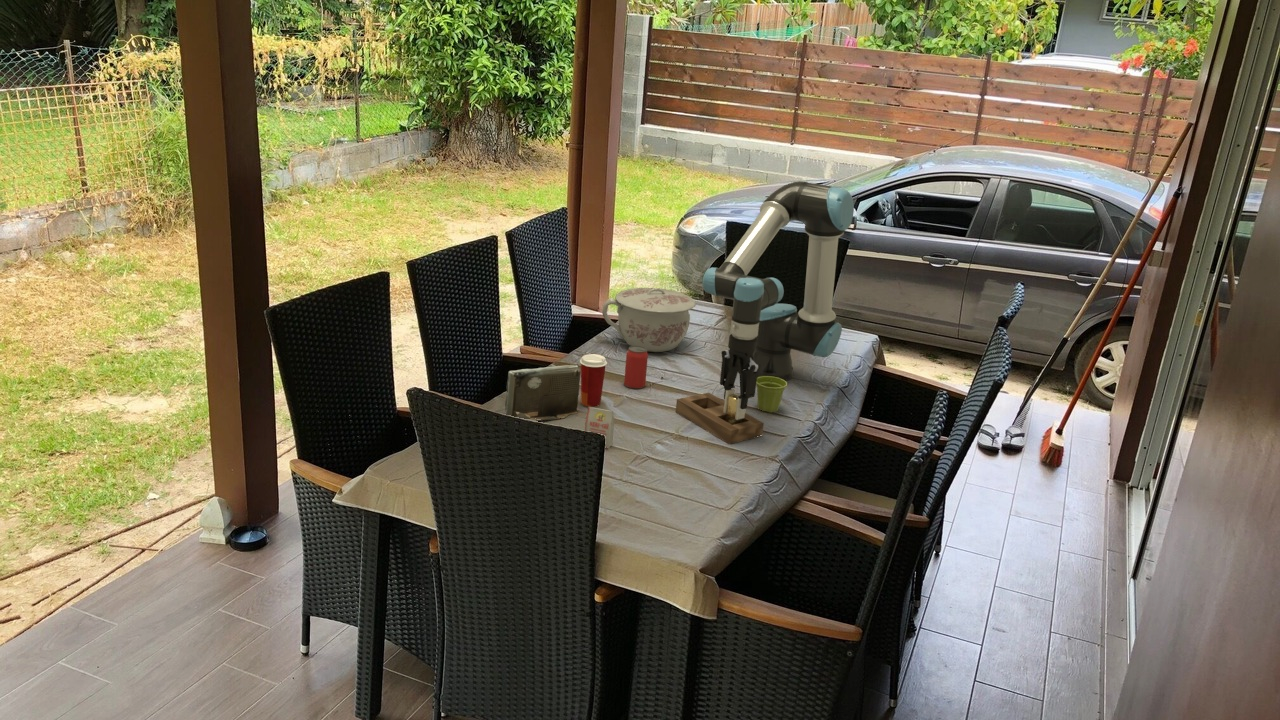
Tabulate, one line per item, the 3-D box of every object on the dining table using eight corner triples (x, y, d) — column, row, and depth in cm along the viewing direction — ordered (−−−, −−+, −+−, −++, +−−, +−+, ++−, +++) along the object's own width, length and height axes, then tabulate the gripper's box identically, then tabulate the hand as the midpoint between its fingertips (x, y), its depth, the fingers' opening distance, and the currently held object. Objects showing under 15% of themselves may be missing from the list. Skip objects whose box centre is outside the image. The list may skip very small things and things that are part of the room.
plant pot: (763, 416, 283) (767, 389, 280) (745, 404, 290) (749, 377, 287) (789, 413, 287) (793, 385, 284) (771, 401, 295) (775, 374, 292)
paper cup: (607, 401, 284) (611, 356, 279) (598, 410, 277) (601, 364, 273) (583, 396, 286) (585, 351, 282) (572, 404, 280) (575, 359, 275)
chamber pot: (705, 345, 338) (711, 288, 331) (664, 366, 316) (670, 305, 309) (638, 327, 351) (642, 271, 344) (594, 345, 329) (598, 286, 322)
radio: (575, 405, 280) (578, 356, 275) (588, 416, 273) (591, 367, 268) (499, 415, 269) (501, 365, 264) (511, 427, 262) (513, 376, 257)
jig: (707, 405, 288) (708, 392, 286) (762, 436, 270) (763, 422, 268) (675, 411, 281) (676, 399, 279) (729, 444, 263) (730, 430, 261)
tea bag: (588, 438, 259) (590, 404, 256) (612, 443, 257) (615, 408, 254) (583, 444, 256) (586, 409, 252) (608, 448, 254) (610, 413, 251)
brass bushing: (734, 419, 273) (737, 392, 270) (744, 425, 270) (748, 398, 267) (722, 421, 270) (725, 395, 268) (732, 427, 267) (736, 400, 264)
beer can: (642, 390, 294) (646, 353, 290) (621, 387, 295) (624, 350, 291) (647, 383, 300) (650, 346, 296) (626, 380, 301) (629, 343, 297)
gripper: (712, 327, 265) (703, 406, 273) (754, 347, 252) (744, 429, 260) (733, 324, 270) (723, 401, 278) (775, 343, 257) (764, 424, 265)
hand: (733, 414), depth 269 cm, fingers closed on brass bushing, 4 cm apart
